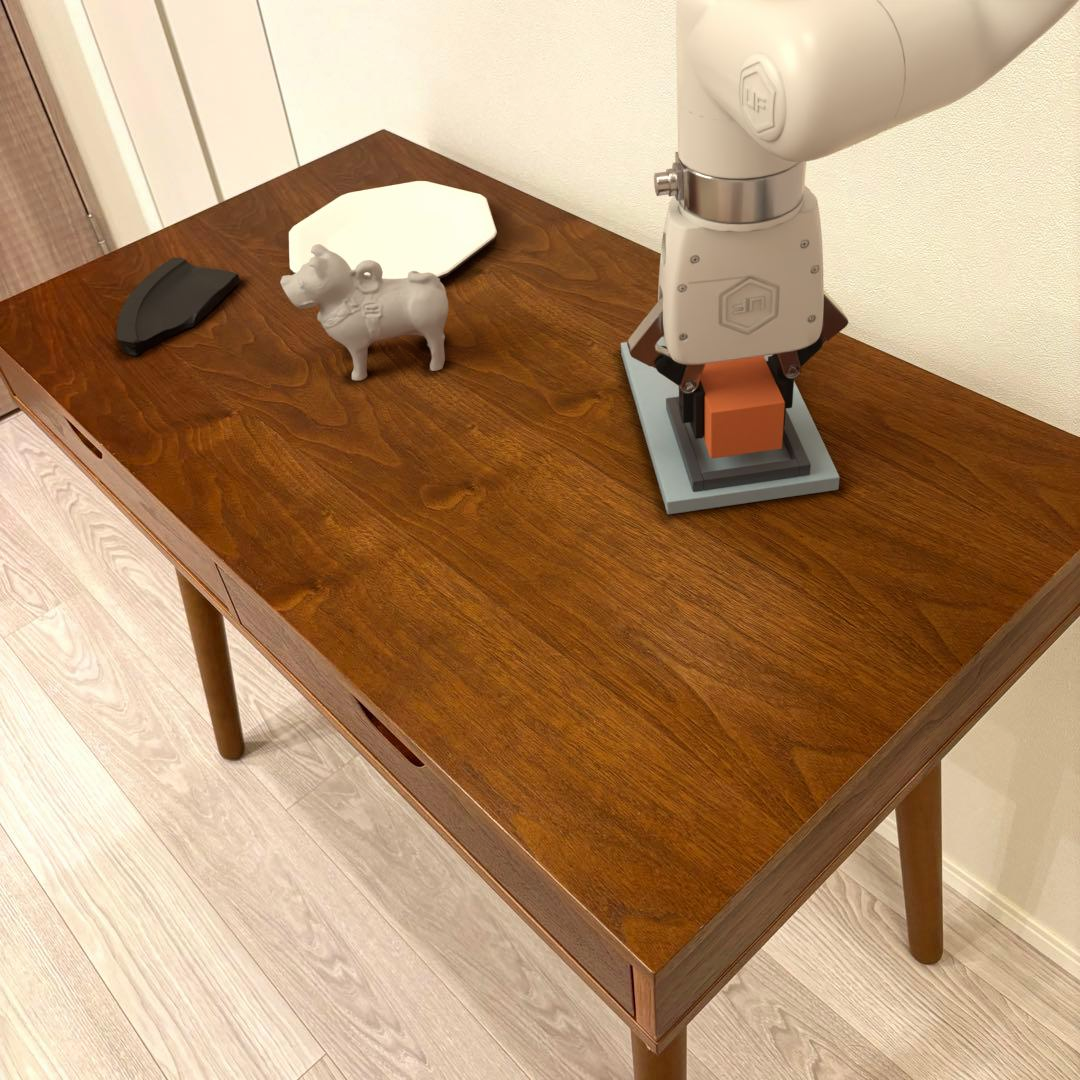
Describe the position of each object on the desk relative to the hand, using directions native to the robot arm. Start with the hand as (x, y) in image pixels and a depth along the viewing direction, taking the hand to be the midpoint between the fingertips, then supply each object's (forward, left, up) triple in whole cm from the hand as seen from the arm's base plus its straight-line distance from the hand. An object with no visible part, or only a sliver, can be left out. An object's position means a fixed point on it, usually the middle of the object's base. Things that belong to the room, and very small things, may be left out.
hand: (735, 419), depth 81 cm
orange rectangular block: (0, 0, 0) cm, 0 cm away
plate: (+24, -38, -3) cm, 46 cm away
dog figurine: (+25, -18, -3) cm, 32 cm away
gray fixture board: (0, -4, -3) cm, 5 cm away
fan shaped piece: (+45, -32, -3) cm, 56 cm away
